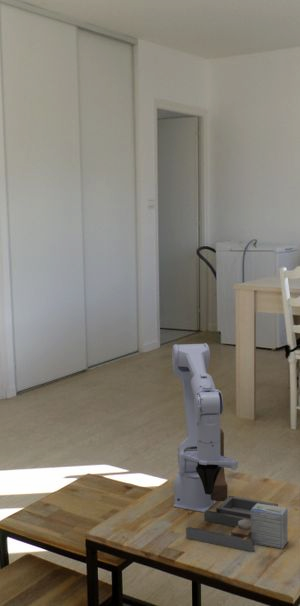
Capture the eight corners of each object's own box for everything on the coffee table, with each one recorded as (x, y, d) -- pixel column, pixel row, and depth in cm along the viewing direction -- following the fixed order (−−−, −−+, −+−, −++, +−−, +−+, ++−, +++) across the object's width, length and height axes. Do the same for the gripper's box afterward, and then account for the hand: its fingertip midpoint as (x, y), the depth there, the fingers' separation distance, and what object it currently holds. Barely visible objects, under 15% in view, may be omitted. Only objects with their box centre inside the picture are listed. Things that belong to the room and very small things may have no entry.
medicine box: (288, 542, 179) (288, 507, 178) (282, 550, 175) (282, 514, 174) (256, 536, 183) (256, 502, 181) (250, 543, 179) (250, 508, 178)
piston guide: (186, 538, 182) (185, 527, 182) (206, 519, 193) (206, 509, 193) (252, 552, 174) (252, 541, 174) (269, 531, 185) (269, 520, 185)
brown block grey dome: (231, 543, 178) (231, 527, 178) (244, 529, 186) (244, 514, 186) (247, 546, 177) (247, 530, 176) (259, 532, 184) (259, 517, 184)
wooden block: (227, 500, 205) (227, 436, 203) (211, 501, 205) (211, 437, 203) (221, 488, 214) (220, 427, 212) (205, 489, 214) (205, 428, 212)
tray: (216, 519, 193) (216, 508, 192) (229, 506, 201) (229, 495, 201) (266, 528, 187) (266, 517, 186) (278, 515, 195) (278, 504, 194)
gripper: (175, 440, 184) (175, 493, 186) (230, 448, 177) (230, 503, 179) (187, 432, 190) (187, 484, 192) (240, 440, 183) (240, 493, 185)
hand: (209, 493), depth 186 cm, fingers closed
